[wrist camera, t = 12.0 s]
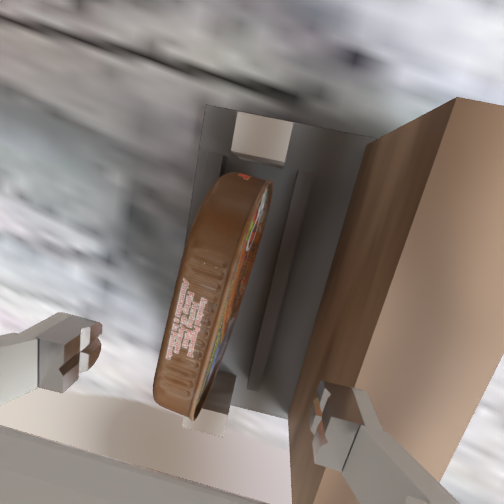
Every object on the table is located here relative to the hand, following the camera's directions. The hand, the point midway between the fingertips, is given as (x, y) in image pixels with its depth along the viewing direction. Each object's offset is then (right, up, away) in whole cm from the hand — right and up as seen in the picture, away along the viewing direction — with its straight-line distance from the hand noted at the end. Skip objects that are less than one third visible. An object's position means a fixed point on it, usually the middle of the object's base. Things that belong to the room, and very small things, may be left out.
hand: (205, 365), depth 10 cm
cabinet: (+5, +2, +12) cm, 13 cm away
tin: (0, +2, +11) cm, 11 cm away
